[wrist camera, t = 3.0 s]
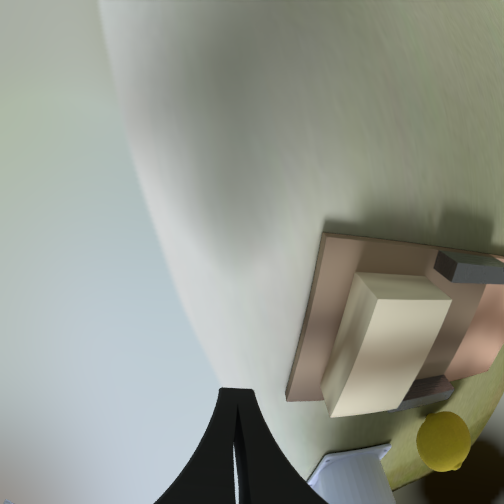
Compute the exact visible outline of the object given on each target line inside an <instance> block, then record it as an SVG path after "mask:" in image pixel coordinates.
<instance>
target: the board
mask: <svg viewBox="0 0 504 504" xmlns="http://www.w3.org/2000/svg"><path fill="white" fill-rule="evenodd" d="M438 250H442V251H450V252H457V253H465V254H472V255H479V256H486V257H493V258H496V259H498V260H500V261H501V262H503V263H504V256H499V255H493V254H486V253H480V252H473V251H467V250H460V249H453V248H446V247H439V246H431V245H424V244H417V243H409V242H401V241H393V240H385V239H377V238H369V237H360V236H352V235H343V234H334V233H325V232H322V237H321V243H320V248H319V253H318V258H317V263H316V268H315V273H314V278H313V283H312V288H311V292H310V297H309V301H308V306H307V310H306V314H305V319H304V323H303V327H302V331H301V336H300V340H299V344H298V348H297V352H296V355H295V359H294V363H293V367H292V371H291V374H290V378H289V382H288V385H287V389H286V392H285V395H286V401H287V402H293V401H319V400H324V396H323V393H322V390H321V387H320V383H321V380H322V378H323V375H324V372H325V369H326V366H327V364H328V361H329V358H330V355H331V352H332V349H333V346H334V343H335V340H336V337H337V333H338V330H339V327H340V324H341V320H342V317H343V314H344V310H345V307H346V303H347V300H348V296H349V293H350V289H351V285H352V281H353V278H354V274H355V272H366V273H381V274H396V275H412V276H425V277H426V278H427V279H429V280H430V281H431V282H432V283H433V284H435V285H436V286H437V287H438V288H439V289H440V290H442V291H443V292H444V293H445V294H446V295H447V296H448V297H450V298H451V299H452V302H451V304H450V307H449V309H448V312H447V314H446V317H445V319H444V321H443V324H442V326H441V328H440V330H439V333H438V335H437V337H436V339H435V341H434V343H433V345H432V347H431V349H430V351H429V353H428V355H427V357H426V359H425V361H424V363H423V365H422V367H421V369H420V371H419V373H418V374H417V376H416V378H415V380H418V379H423V378H429V377H434V376H439V375H445V376H446V378H447V379H448V380H449V382H450V381H454V380H458V379H462V378H466V377H469V376H473V375H476V374H480V373H483V372H486V371H488V370H489V368H490V366H491V365H492V363H493V361H494V359H495V358H496V356H497V354H498V352H499V350H500V349H501V347H502V345H503V343H504V285H502V284H473V283H451V282H450V281H449V280H447V279H446V278H445V277H444V276H442V275H441V274H440V273H438V272H437V271H436V270H435V269H433V267H434V264H435V261H436V257H437V254H438Z"/></svg>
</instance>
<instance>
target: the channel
mask: <svg viewBox="0 0 504 504" xmlns="http://www.w3.org/2000/svg"><path fill="white" fill-rule="evenodd" d="M433 269H435V270H436V271H437V272H438V273H440V274H441V275H442V276H444V277H445V278H446V279H447V280H449V281H450V282H451V283H473V284H502V285H504V263H503V262H501V261H500V260H498V259H496V258H493V257H486V256H479V255H472V254H465V253H457V252H450V251H442V250H438V254H437V257H436V261H435V264H434V267H433ZM453 391H454V387H453V386H452V385H451V383H450V382H449V380H448V379H447V378H446V376H445V375H439V376H434V377H429V378H423V379H418V380H414V381H413V383H412V385H411V387H410V388H409V390H408V392H407V393H406V395H405V397H404V398H403V400H402V402H401V403H400V405H399V406H398V408H397V409H392V410H387V411H388V413H391V412H396V411H401V410H406V409H410V408H415V407H419V406H424V405H428V404H432V403H436V402H439V401H443V400H446V399H448V398H449V397H450V395H451V394H452V392H453Z"/></svg>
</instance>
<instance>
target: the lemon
mask: <svg viewBox="0 0 504 504" xmlns="http://www.w3.org/2000/svg"><path fill="white" fill-rule="evenodd" d="M416 443H417V449H418V452H419V455H420V457H421V459H422V460H423V461H424V463H425V464H426V465H427V466H428V467H429V468H431V469H433V470H435V471H449V470H457V469H458V468H460V467H461V464H462V462H463V461H464V459H465V458H466V456H467V454H468V452H469V450H470V445H471V438H470V433H469V430H468V427H467V425H466V424H465V422H464V421H463V420H462V419H461V418H460V417H459V416H458V415H456V414H455V413H452V412H447V411H443V412H438V413H436V414H435V413H430V414H428V415H427V416H426V419H425V422H424V423H423V424H422V425H421V427H420V429H419V431H418V434H417V439H416Z"/></svg>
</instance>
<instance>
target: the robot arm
mask: <svg viewBox="0 0 504 504" xmlns="http://www.w3.org/2000/svg"><path fill="white" fill-rule="evenodd" d="M233 445H234V449H235V457H236V466H237V475H238V486H239V504H396V502H395V499H394V497H393V494H392V491H391V488H390V486H389V483H388V480H387V477H386V475H385V472H384V469H383V467H382V464H381V461H380V460H381V459H382V458H383V456H384V455H385V454H386V453H387V452H388V451H389V449H390V448H391V447H392V446H391V444H390V443H389V444H384V445H380V446H375V447H370V448H365V449H359V450H353V451H347V452H340V453H333V454H327V455H325V456H324V458H323V459H322V461H321V462H320V464H319V465H318V467H317V469H316V470H315V471H314V473H313V474H312V476H311V477H310V479H309V480H308V482H306V481H305V480H304V479H303V478H302V477H301V476H300V475H299V474H298V472H297V471H296V470H295V469H294V467H293V466H292V465H291V464H290V462H289V461H288V460H287V458H286V457H285V455H284V454H283V452H282V451H281V449H280V448H279V446H278V444H277V443H276V441H275V439H274V438H273V436H272V434H271V432H270V430H269V428H268V426H267V424H266V422H265V420H264V418H263V416H262V413H261V411H260V408H259V406H258V403H257V400H256V397H255V393H254V390H252V389H240V388H223V387H222V388H220V389H219V394H218V399H217V403H216V407H215V409H214V412H213V415H212V417H211V420H210V422H209V425H208V427H207V429H206V431H205V433H204V436H203V437H202V439H201V441H200V443H199V445H198V447H197V449H196V450H195V452H194V454H193V455H192V457H191V458H190V460H189V462H188V463H187V465H186V466H185V467H184V469H183V470H182V472H181V473H180V474H179V476H178V477H177V478H176V479H175V481H174V482H173V483H172V484H171V485H170V487H169V488H168V489H167V490H166V491H165V492H164V494H163V495H162V496H161V497H160V498H159V499H158V500H157V501H156V502H155V503H154V504H236V500H235V483H234V460H233ZM4 504H14V503H12V502H11V501H9V500H7V499H5V501H4Z"/></svg>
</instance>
